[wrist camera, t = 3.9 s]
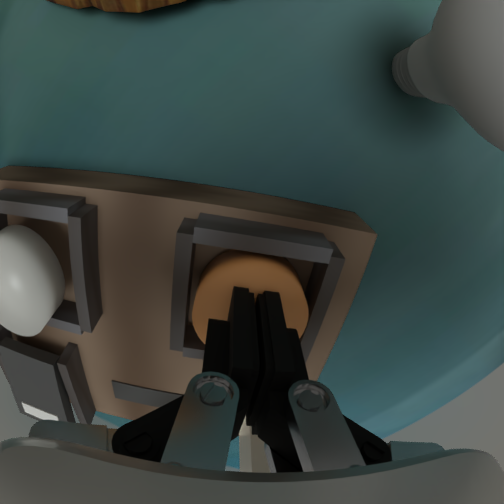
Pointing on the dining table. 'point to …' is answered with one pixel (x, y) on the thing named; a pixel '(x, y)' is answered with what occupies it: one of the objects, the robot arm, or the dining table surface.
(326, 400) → the robot arm
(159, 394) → the panel
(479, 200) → the dining table surface
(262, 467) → the cream stepped block
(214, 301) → the orange button
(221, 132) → the dining table surface
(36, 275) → the grey button
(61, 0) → the croissant
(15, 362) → the rocker
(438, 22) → the lightbulb
